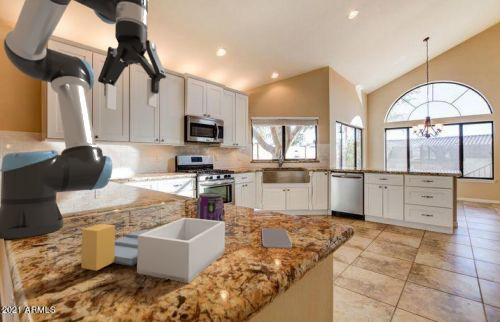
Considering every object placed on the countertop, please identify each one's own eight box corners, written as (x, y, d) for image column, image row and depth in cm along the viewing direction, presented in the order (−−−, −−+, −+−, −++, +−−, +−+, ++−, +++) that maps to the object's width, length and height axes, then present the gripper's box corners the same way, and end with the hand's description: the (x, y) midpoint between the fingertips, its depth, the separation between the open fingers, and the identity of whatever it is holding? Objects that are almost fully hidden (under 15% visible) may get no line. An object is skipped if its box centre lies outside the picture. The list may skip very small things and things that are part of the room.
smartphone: (285, 228, 72) (292, 245, 57) (285, 231, 72) (292, 249, 57) (261, 228, 72) (262, 244, 57) (261, 231, 72) (262, 248, 57)
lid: (65, 272, 43) (66, 226, 43) (141, 239, 62) (142, 207, 62) (113, 282, 40) (114, 233, 40) (179, 244, 59) (180, 211, 59)
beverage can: (217, 242, 60) (218, 196, 60) (191, 240, 61) (192, 195, 61) (225, 234, 67) (226, 192, 67) (202, 232, 68) (203, 191, 68)
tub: (137, 273, 43) (137, 235, 43) (183, 245, 57) (184, 217, 57) (188, 283, 40) (189, 242, 40) (224, 251, 54) (225, 221, 54)
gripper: (83, 27, 61) (81, 107, 61) (161, 9, 54) (160, 101, 54) (108, 41, 68) (107, 113, 68) (181, 27, 61) (179, 108, 61)
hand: (130, 107), depth 61 cm, fingers open, 13 cm apart
